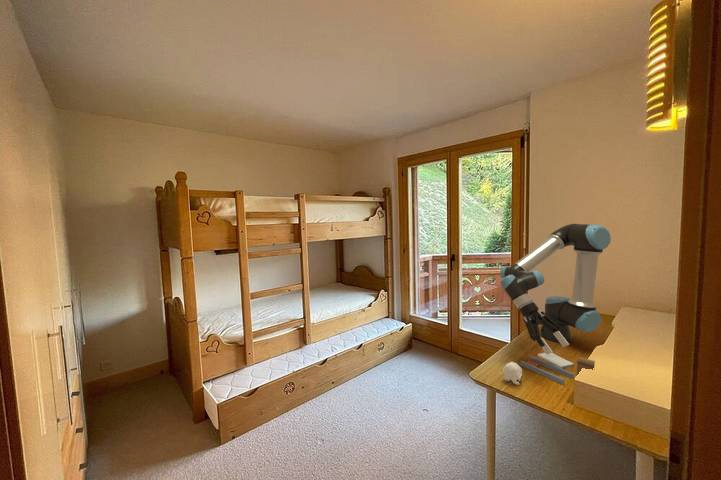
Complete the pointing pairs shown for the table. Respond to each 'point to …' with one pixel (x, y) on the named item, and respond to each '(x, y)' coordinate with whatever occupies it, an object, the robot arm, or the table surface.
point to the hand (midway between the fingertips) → (558, 349)
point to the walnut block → (584, 364)
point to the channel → (545, 373)
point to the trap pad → (533, 363)
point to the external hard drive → (556, 360)
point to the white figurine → (512, 372)
